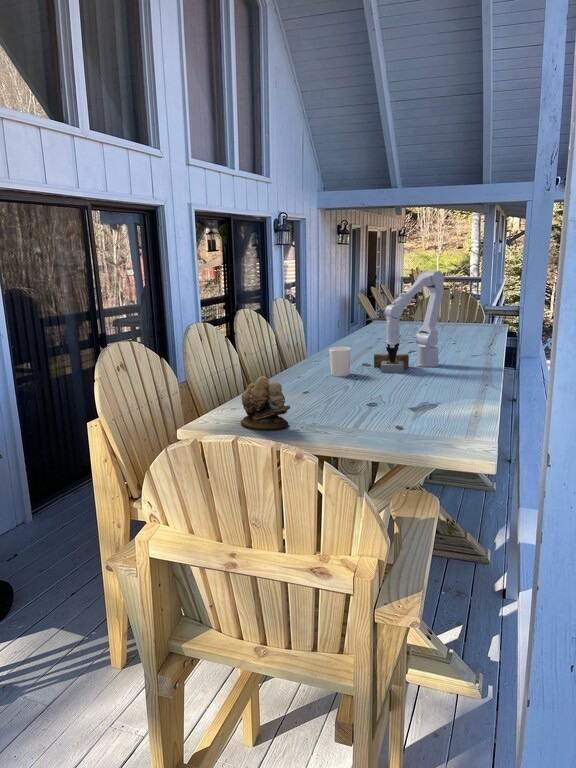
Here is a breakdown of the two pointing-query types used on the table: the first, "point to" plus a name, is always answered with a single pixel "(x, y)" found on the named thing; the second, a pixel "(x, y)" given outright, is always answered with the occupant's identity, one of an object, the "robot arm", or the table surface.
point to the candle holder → (340, 361)
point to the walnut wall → (385, 357)
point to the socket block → (392, 367)
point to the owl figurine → (264, 406)
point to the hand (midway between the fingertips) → (392, 360)
